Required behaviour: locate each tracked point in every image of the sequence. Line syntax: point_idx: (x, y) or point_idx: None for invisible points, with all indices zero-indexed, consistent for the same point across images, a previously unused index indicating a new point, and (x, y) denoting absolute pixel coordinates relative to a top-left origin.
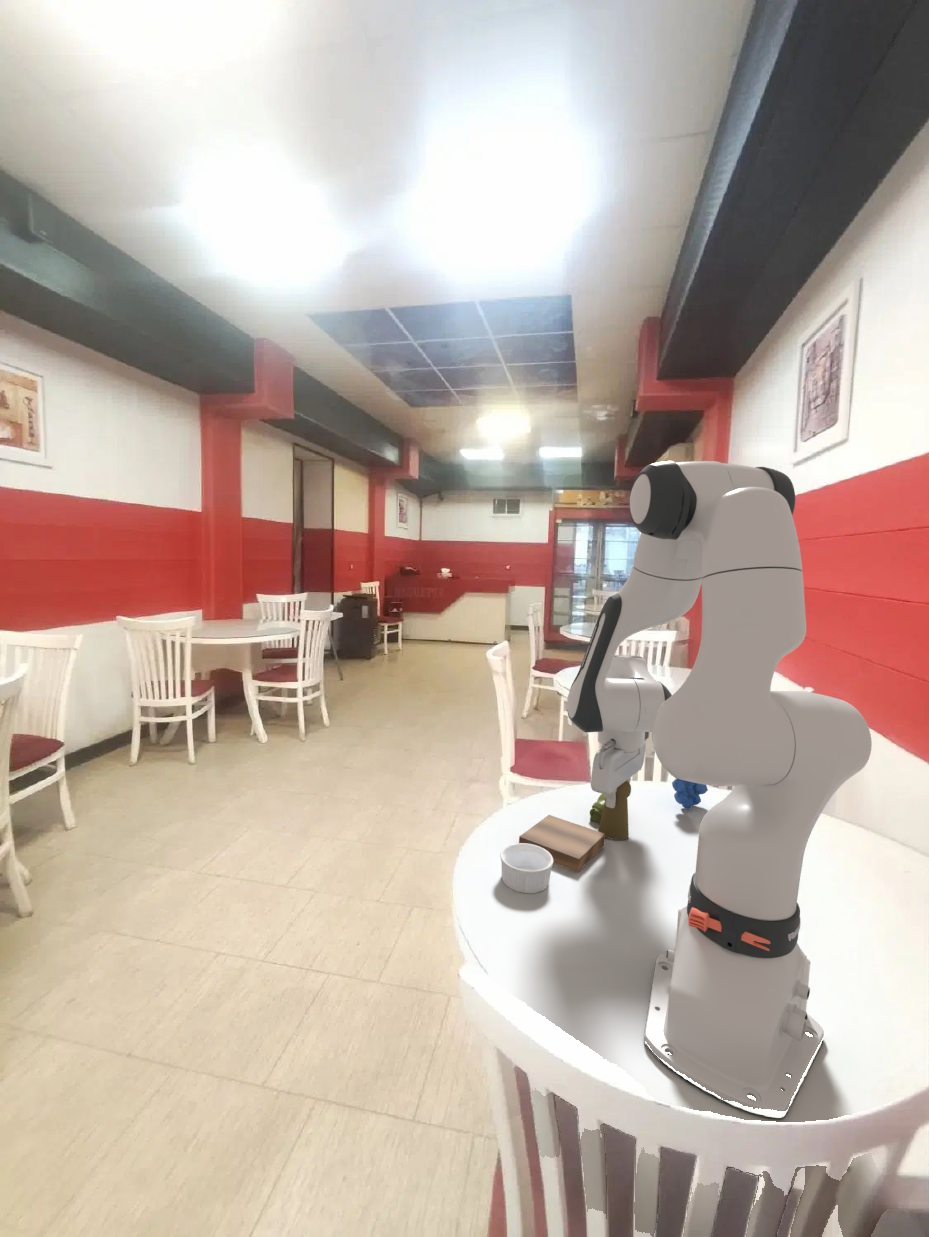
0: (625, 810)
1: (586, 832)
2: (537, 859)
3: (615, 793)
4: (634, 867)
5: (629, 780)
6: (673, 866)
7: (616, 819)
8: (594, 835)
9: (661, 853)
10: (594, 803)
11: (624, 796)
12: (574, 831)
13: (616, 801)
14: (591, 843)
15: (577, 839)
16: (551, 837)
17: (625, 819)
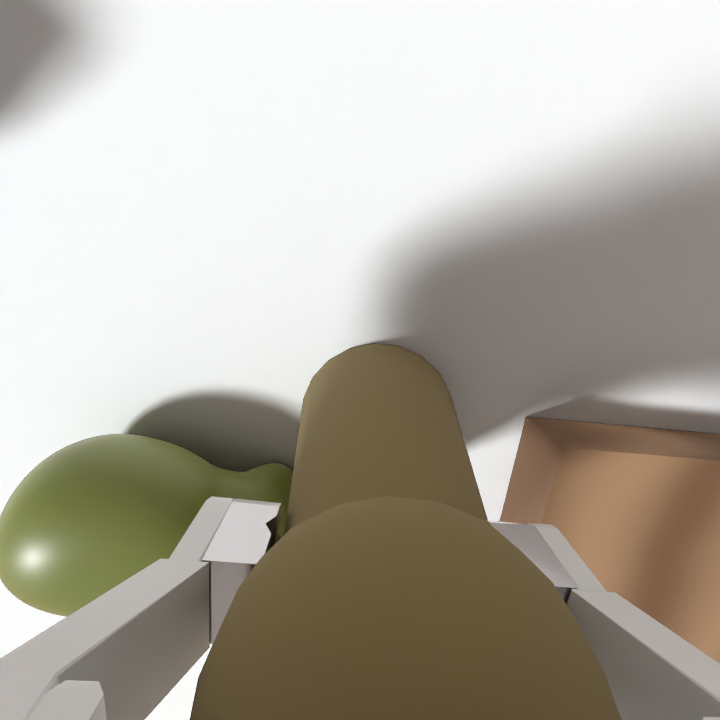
0: (423, 430)
1: (594, 524)
2: None
3: (705, 687)
4: (662, 247)
5: (33, 694)
6: (568, 50)
7: (464, 444)
8: (608, 485)
9: (450, 145)
10: None
11: (512, 543)
12: (608, 569)
13: (529, 556)
14: (706, 473)
15: (687, 535)
16: (711, 622)
17: (417, 396)
